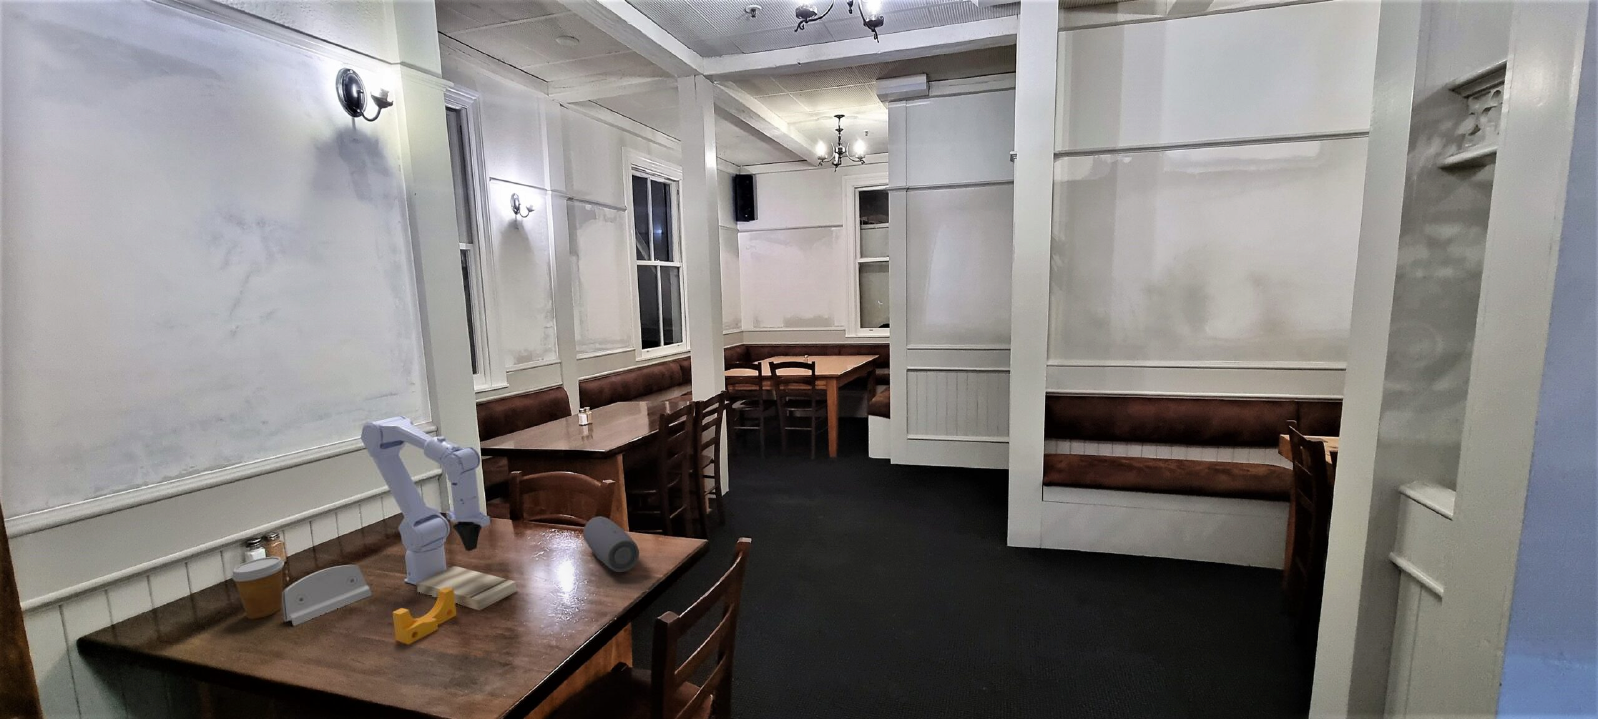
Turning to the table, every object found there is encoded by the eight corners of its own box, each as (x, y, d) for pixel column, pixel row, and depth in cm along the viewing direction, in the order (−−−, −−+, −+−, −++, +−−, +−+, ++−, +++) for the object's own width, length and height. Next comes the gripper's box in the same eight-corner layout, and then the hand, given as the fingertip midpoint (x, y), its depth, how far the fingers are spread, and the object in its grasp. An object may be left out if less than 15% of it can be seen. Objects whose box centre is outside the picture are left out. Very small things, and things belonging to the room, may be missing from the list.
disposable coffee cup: (299, 604, 150) (292, 557, 149) (254, 624, 141) (246, 575, 140) (274, 600, 153) (267, 554, 152) (228, 619, 145) (220, 570, 143)
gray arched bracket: (292, 626, 140) (280, 584, 140) (285, 628, 142) (273, 586, 143) (373, 594, 154) (362, 555, 155) (365, 596, 156) (354, 558, 157)
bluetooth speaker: (643, 570, 160) (640, 533, 158) (607, 581, 154) (604, 543, 153) (615, 544, 178) (612, 510, 177) (582, 552, 173) (579, 518, 172)
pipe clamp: (408, 644, 130) (404, 615, 129) (396, 640, 132) (392, 612, 131) (461, 617, 140) (458, 590, 140) (449, 613, 142) (446, 586, 142)
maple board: (417, 591, 154) (416, 582, 154) (455, 574, 163) (454, 565, 162) (479, 610, 143) (478, 599, 142) (516, 591, 152) (515, 581, 151)
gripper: (432, 498, 154) (438, 550, 155) (468, 505, 147) (474, 560, 148) (459, 490, 160) (464, 540, 161) (495, 496, 153) (500, 548, 155)
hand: (471, 549), depth 155 cm, fingers closed
